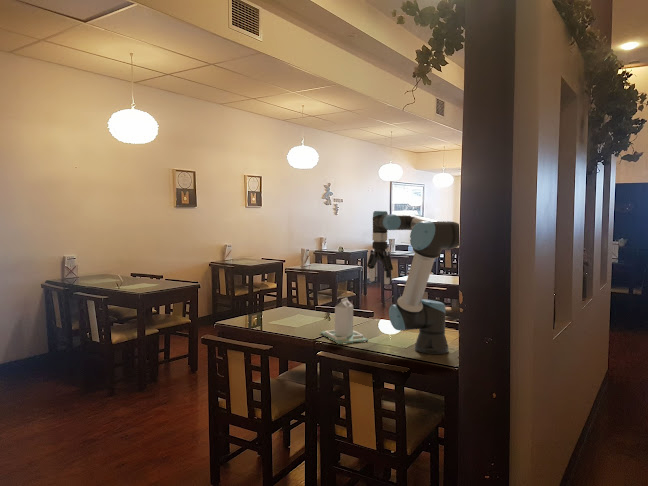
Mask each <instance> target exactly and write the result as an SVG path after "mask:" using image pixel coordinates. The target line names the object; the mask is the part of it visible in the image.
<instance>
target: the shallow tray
mask: <svg viewBox="0 0 648 486" xmlns="http://www.w3.org/2000/svg"><path fill="white" fill-rule="evenodd" d="M322 334H323V335H324V336H323V335H322ZM320 335H322V336H323V337H325V336H326V337H328V338H330V339H331V340H333V341H335V342H336V343H338V344H343V343H352V344H354V343H353V342H361V343H365V342H364V341H368V342H369V339H368V338H367V337H364V335H363V334H362V333H360V332H358V331H356V330H354V329H353V335H351V336H349V337H340V336H335V329H331V330H324V331H320ZM326 337H325V338H326ZM328 338H327V339H328ZM330 339H329V340H330ZM331 340H330V341H331ZM333 341H332V342H333ZM335 342H334V343H335ZM336 343H335V344H336ZM338 344H337V345H338ZM343 345H344V344H343Z"/></svg>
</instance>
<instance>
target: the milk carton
mask: <svg viewBox="0 0 648 486" xmlns="http://www.w3.org/2000/svg"><path fill="white" fill-rule="evenodd" d="M334 330H335V336H340V337H349V336H351V335H353V330H354V304H352V302H350V301H349V299H348V297H344V298H342V299H341V300H340V302H339V303H337V304H336V305H335V306H334Z"/></svg>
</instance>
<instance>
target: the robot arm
mask: <svg viewBox="0 0 648 486" xmlns="http://www.w3.org/2000/svg"><path fill="white" fill-rule="evenodd" d="M459 224H460V223H459V222H456V221H448V220H447V221H440V220H435V219H431V218H427V217H424V216H423V215H420V214H392V213H391V214H388V211H386V210H374V211H373V213H372V247H371V248H372V249H371V250H370V253H369V257H368V260H367V264H366V267H367V268H368V269H369V282H375V280H376V279H375V278H376V264H377V263H378V260H379V261H381V264H382V266H383V268H384V272H383V273H384V276H383V277H384V279H383V280H384V281H383V282H384V283H383V284H384V285H390V284H391V283H390V282H391V281H390V280H391V271H393V270H394V268H393V262H392V260H391V255H390V251H389V250H387V249H388V231H410V233H409V234H410V235H409V238H410V239H409V243H410V246H411V247H412V251H413V253H414V255H413V258H412V262H411V266H410V269H409V272H408V275H407V279H406V282H405V286H404V289H403V292H402V295H401V296H399V297H398V298H397V300H396V303H395V304H391V305H390V306H389V308H388V309H389V310H388V315H389V316H388V318H389V321H390V324H391V326H392V327H393V329H395V330H396V331H403V332H404V331H409V330H410V331H412V330H419V331H418V335H417V338H416V341H415V344H414V349H415V351H416V352H418V351H419V353H421V352H422V353H421V354H427V355H444V354H447V353H449V345H448V341H447V338H446V314H447V312H446V311H447V310H446V305H445V303H443V302H441V301H437V300H432V299H425V298H424V299H423V296H424V293H425V291H426V288H427V286H428V282H429V278H430V276H431V272H432V269H433V265H434V262H435V260H436V259H438V258H439V257H440V256H441V253H442V251H443V250H453V249H456V248H458V247H459Z"/></svg>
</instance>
